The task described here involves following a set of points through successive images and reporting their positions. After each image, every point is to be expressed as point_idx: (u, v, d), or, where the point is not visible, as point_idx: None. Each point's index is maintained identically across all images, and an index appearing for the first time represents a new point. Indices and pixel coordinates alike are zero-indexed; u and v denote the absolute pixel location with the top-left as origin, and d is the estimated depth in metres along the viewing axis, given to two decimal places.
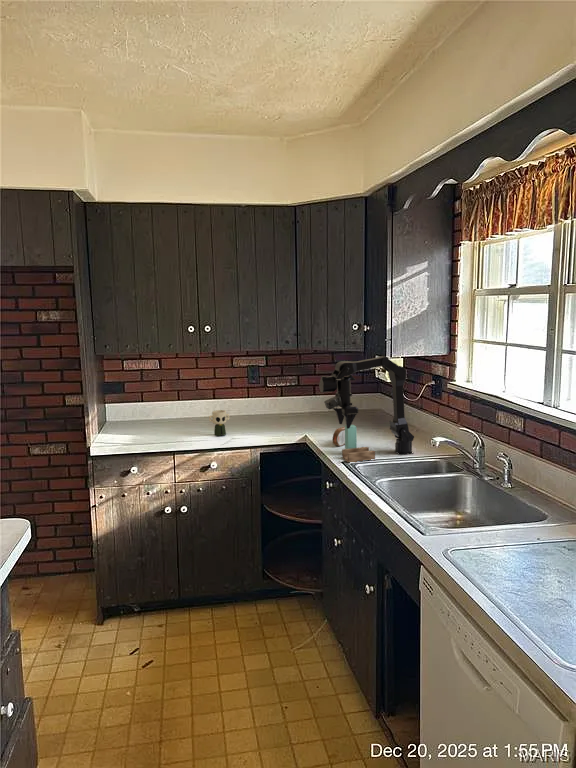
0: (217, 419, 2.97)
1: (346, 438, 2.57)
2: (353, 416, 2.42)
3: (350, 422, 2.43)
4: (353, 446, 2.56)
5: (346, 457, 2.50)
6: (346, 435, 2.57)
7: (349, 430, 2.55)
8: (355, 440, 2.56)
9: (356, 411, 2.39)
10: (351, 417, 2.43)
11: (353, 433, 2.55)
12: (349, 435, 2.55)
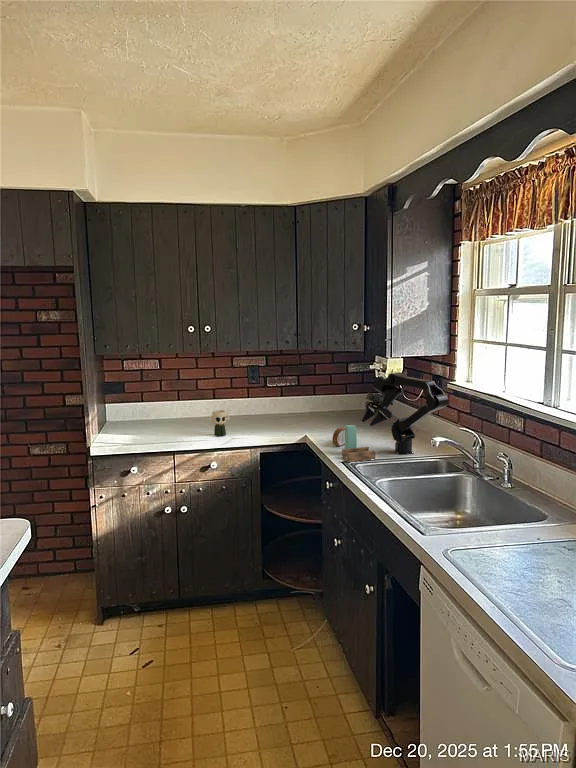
0: (217, 419, 2.97)
1: (346, 438, 2.57)
2: (382, 419, 2.53)
3: (376, 422, 2.53)
4: (353, 446, 2.56)
5: (346, 457, 2.50)
6: (346, 435, 2.57)
7: (349, 430, 2.55)
8: (355, 440, 2.56)
9: (389, 416, 2.51)
10: (380, 419, 2.53)
11: (353, 433, 2.55)
12: (349, 435, 2.55)
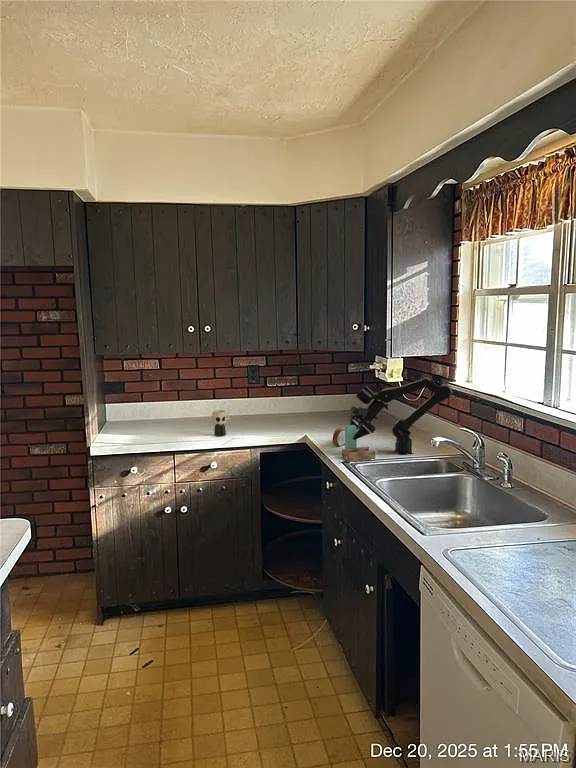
0: (217, 419, 2.97)
1: (346, 438, 2.57)
2: (365, 433, 2.52)
3: (359, 436, 2.52)
4: (353, 446, 2.56)
5: (346, 457, 2.50)
6: (346, 435, 2.57)
7: (349, 430, 2.55)
8: (355, 440, 2.56)
9: (372, 430, 2.50)
10: (363, 433, 2.52)
11: (353, 433, 2.55)
12: (349, 435, 2.55)
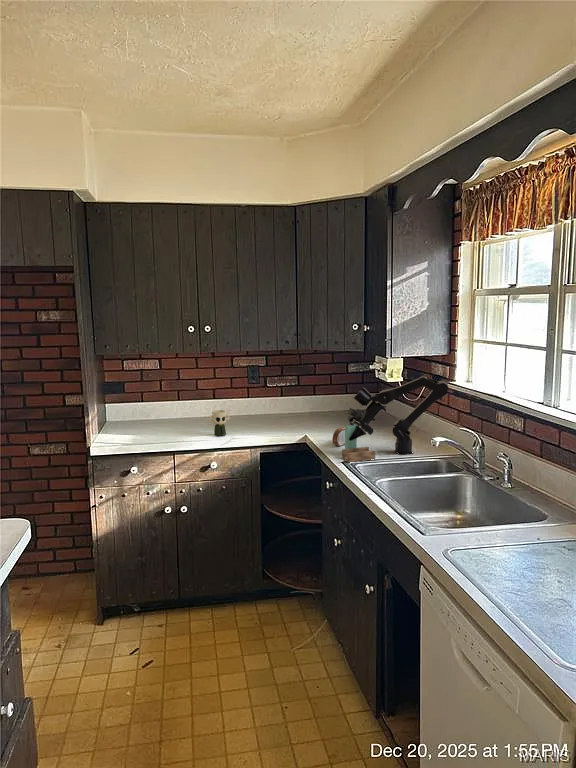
0: (217, 419, 2.97)
1: (346, 438, 2.57)
2: (361, 434, 2.54)
3: (355, 436, 2.54)
4: (353, 446, 2.56)
5: (346, 457, 2.50)
6: (346, 435, 2.57)
7: (349, 430, 2.55)
8: (355, 440, 2.56)
9: (370, 432, 2.49)
10: (359, 433, 2.54)
11: None
12: (349, 435, 2.55)
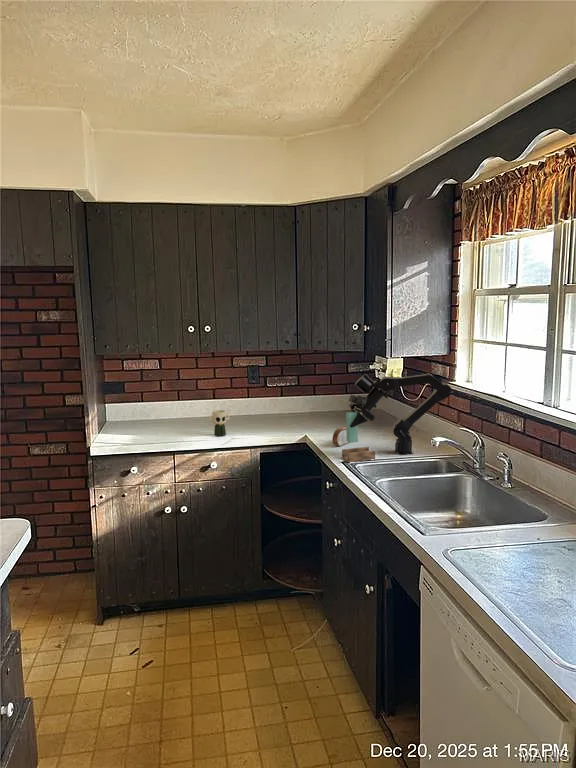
0: (217, 419, 2.97)
1: (347, 425, 2.55)
2: (363, 421, 2.52)
3: (356, 423, 2.52)
4: (354, 433, 2.54)
5: (346, 457, 2.50)
6: (347, 422, 2.54)
7: (350, 417, 2.52)
8: (356, 427, 2.53)
9: (371, 419, 2.47)
10: (360, 420, 2.52)
11: None
12: (350, 422, 2.52)
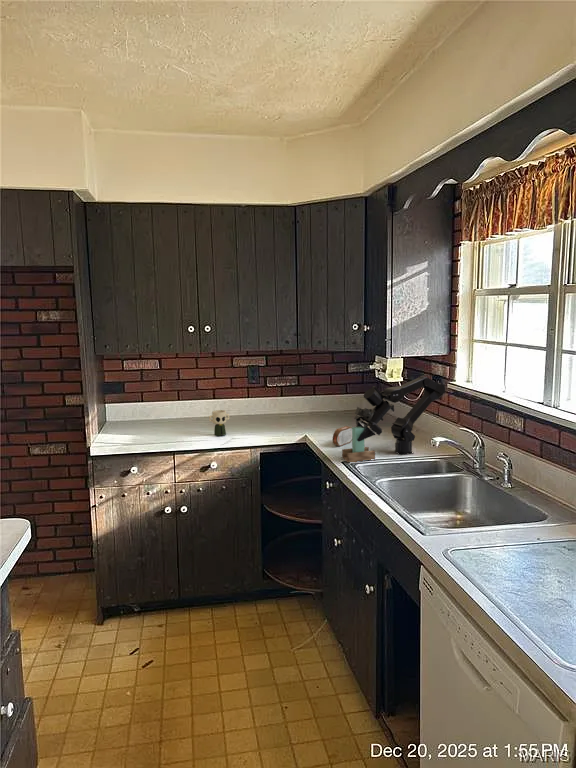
0: (217, 419, 2.97)
1: (353, 440, 2.48)
2: (370, 435, 2.44)
3: (364, 437, 2.45)
4: (361, 449, 2.47)
5: (346, 457, 2.50)
6: (353, 437, 2.48)
7: (357, 432, 2.46)
8: (363, 442, 2.47)
9: (379, 432, 2.40)
10: (368, 434, 2.45)
11: None
12: (357, 437, 2.46)
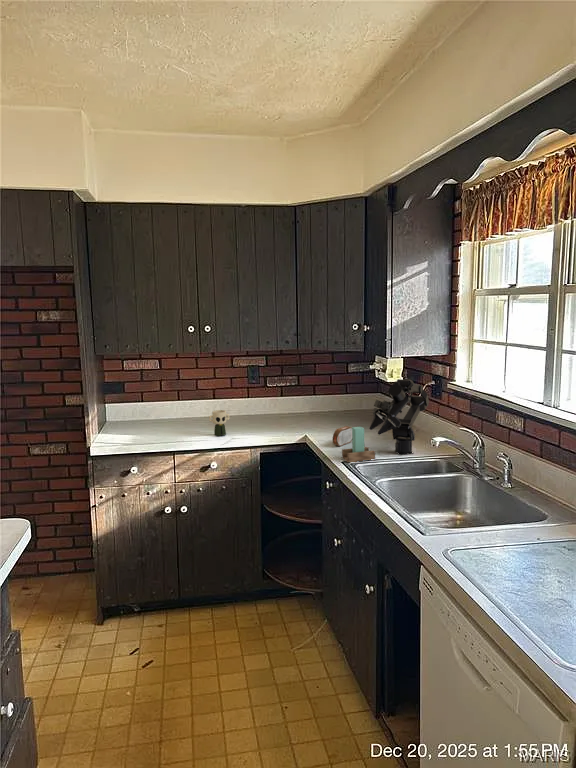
0: (217, 419, 2.97)
1: (353, 440, 2.48)
2: (391, 427, 2.45)
3: (384, 430, 2.45)
4: (361, 449, 2.47)
5: (346, 457, 2.50)
6: (353, 437, 2.48)
7: (357, 432, 2.46)
8: (363, 442, 2.47)
9: (398, 425, 2.42)
10: (388, 427, 2.45)
11: (361, 435, 2.46)
12: (357, 437, 2.46)
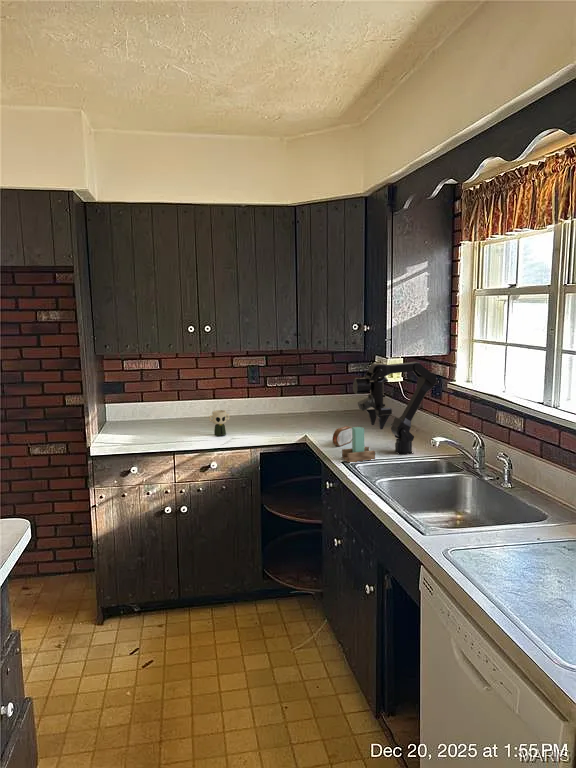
0: (217, 419, 2.97)
1: (353, 440, 2.48)
2: (386, 417, 2.46)
3: (383, 423, 2.47)
4: (361, 449, 2.47)
5: (346, 457, 2.50)
6: (353, 437, 2.48)
7: (357, 432, 2.46)
8: (363, 442, 2.47)
9: (390, 412, 2.43)
10: (384, 418, 2.47)
11: (361, 435, 2.46)
12: (357, 437, 2.46)
